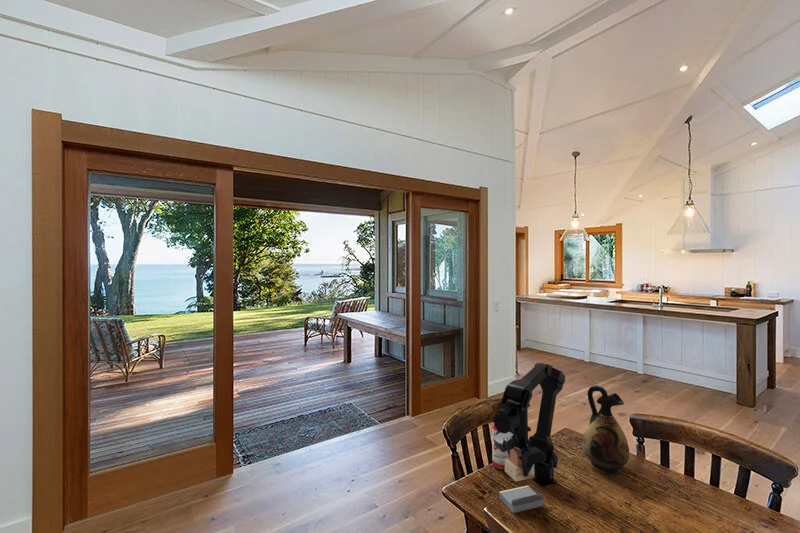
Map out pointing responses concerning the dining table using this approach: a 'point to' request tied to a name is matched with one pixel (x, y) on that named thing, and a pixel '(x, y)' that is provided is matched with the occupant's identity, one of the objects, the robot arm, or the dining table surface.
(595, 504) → the dining table surface
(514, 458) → the block
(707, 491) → the dining table surface
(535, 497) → the dock
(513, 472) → the beige slotted block
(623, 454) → the ceramic jug
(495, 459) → the beer can
